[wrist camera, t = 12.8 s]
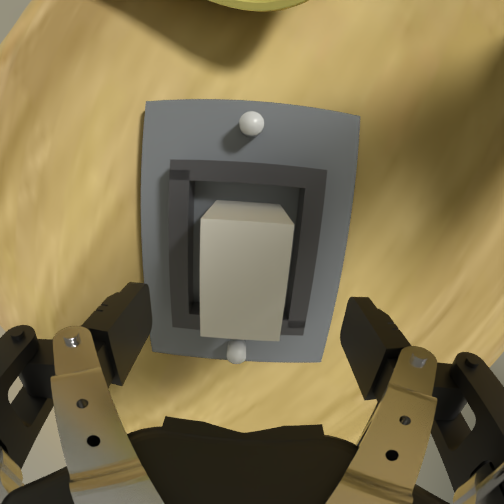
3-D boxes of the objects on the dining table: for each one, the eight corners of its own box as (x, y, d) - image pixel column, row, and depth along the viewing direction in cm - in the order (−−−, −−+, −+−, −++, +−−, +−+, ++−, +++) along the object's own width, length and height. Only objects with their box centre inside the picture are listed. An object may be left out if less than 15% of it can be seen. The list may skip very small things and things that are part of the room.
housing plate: (355, 118, 17) (371, 112, 14) (318, 355, 23) (325, 376, 20) (151, 104, 16) (135, 96, 14) (155, 344, 22) (146, 364, 20)
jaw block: (280, 204, 18) (294, 224, 12) (271, 290, 19) (279, 341, 14) (216, 199, 18) (200, 218, 12) (213, 286, 19) (200, 336, 14)
